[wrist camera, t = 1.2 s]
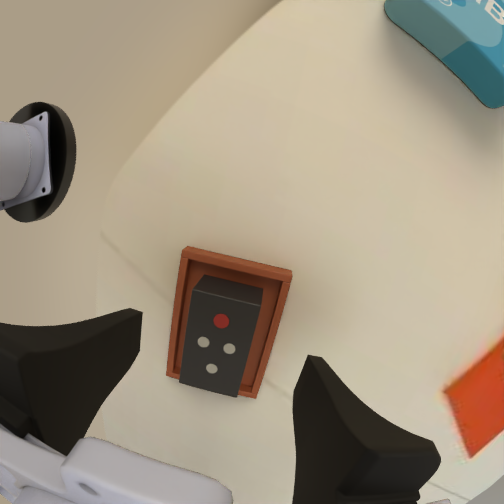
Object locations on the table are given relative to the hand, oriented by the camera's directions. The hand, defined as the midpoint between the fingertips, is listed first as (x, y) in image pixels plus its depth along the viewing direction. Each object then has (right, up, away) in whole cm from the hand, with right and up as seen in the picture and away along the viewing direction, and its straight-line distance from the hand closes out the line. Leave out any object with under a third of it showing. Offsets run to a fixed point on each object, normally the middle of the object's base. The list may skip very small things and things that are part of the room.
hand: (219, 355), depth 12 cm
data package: (+15, +18, +1) cm, 23 cm away
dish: (-1, -1, +9) cm, 9 cm away
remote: (-1, -1, +8) cm, 8 cm away
